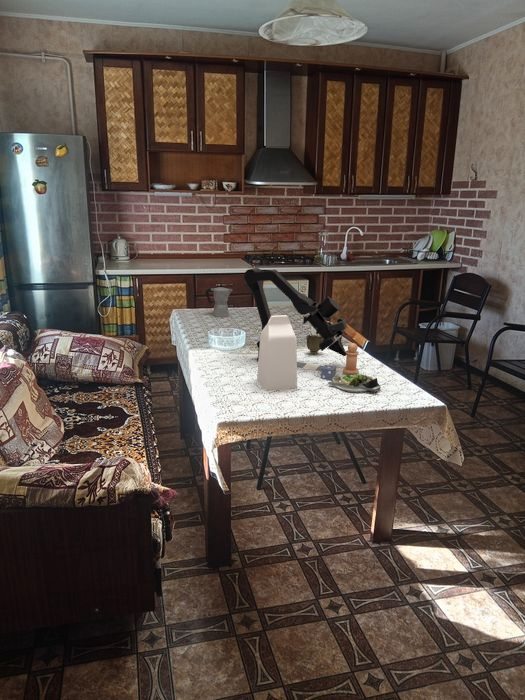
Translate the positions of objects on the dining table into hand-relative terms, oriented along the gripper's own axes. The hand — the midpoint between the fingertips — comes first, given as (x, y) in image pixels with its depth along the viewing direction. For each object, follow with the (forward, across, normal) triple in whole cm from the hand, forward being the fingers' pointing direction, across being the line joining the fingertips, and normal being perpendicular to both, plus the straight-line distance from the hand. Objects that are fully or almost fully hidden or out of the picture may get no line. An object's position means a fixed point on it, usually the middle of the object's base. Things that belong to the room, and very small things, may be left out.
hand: (345, 355), depth 214 cm
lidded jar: (-11, +46, +22) cm, 52 cm away
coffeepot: (-57, +64, +68) cm, 109 cm away
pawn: (+7, 0, +3) cm, 7 cm away
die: (+2, -10, +8) cm, 13 cm away
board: (-1, 0, +11) cm, 11 cm away
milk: (-9, -25, +19) cm, 33 cm away
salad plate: (+11, -13, 0) cm, 17 cm away
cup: (-8, +18, +18) cm, 27 cm away
